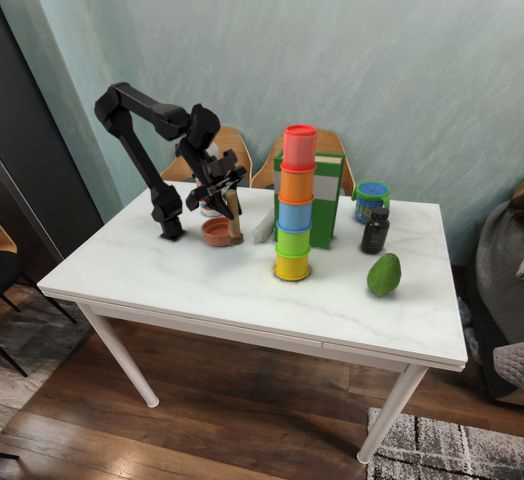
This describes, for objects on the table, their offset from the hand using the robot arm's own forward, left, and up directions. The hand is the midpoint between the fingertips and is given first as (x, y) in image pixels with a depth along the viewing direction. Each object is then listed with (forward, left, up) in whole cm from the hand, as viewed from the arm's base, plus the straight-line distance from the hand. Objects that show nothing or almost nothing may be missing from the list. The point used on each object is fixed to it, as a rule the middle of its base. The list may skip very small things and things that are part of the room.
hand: (237, 217), depth 80 cm
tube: (-3, +24, -15) cm, 29 cm away
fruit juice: (-28, +24, -15) cm, 40 cm away
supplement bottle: (+31, +25, -15) cm, 43 cm away
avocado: (+39, +6, -15) cm, 43 cm away
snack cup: (+24, +42, -15) cm, 51 cm away
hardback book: (+10, +21, -15) cm, 28 cm away
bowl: (-15, +10, -15) cm, 23 cm away
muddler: (-1, 0, -7) cm, 8 cm away
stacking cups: (+14, +4, -15) cm, 21 cm away
